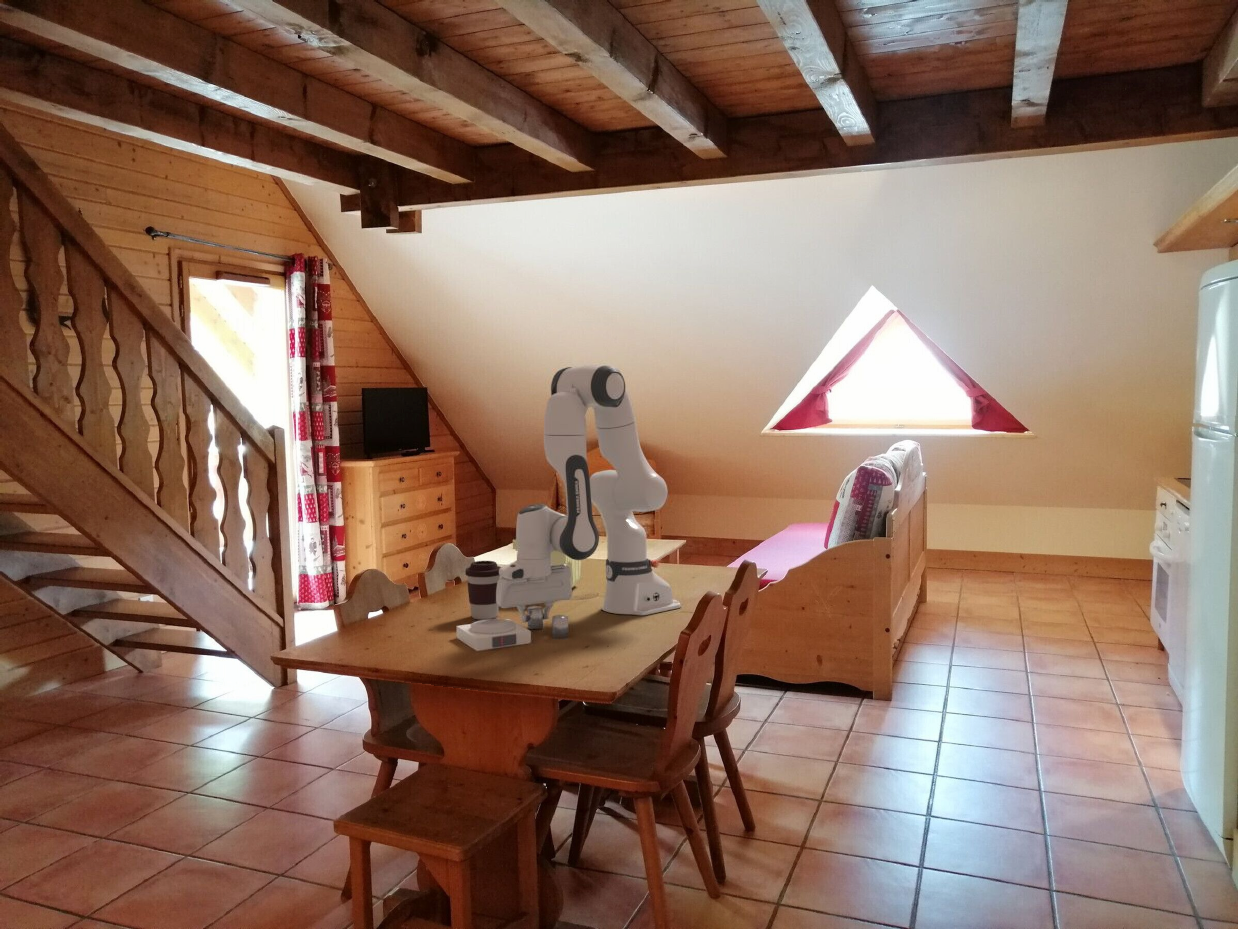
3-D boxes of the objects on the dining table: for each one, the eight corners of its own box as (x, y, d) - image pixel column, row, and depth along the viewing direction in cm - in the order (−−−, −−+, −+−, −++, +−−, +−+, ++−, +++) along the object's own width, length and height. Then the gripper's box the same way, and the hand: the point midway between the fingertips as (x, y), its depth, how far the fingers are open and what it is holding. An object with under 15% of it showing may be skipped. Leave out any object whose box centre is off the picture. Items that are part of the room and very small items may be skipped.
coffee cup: (468, 622, 252) (467, 567, 251) (464, 614, 262) (463, 560, 261) (505, 619, 255) (504, 564, 254) (500, 611, 264) (499, 558, 263)
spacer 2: (564, 633, 240) (563, 614, 240) (571, 637, 237) (570, 617, 236) (549, 635, 238) (549, 616, 238) (556, 639, 235) (556, 619, 234)
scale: (508, 630, 244) (508, 615, 243) (531, 643, 231) (531, 627, 231) (456, 637, 237) (456, 622, 236) (477, 651, 224) (477, 635, 224)
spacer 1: (539, 624, 248) (538, 605, 248) (545, 627, 245) (545, 608, 244) (525, 626, 246) (524, 607, 246) (531, 629, 243) (530, 610, 242)
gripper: (565, 561, 252) (566, 612, 253) (492, 570, 242) (494, 623, 243) (575, 565, 246) (576, 617, 247) (502, 574, 237) (503, 628, 238)
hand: (535, 620), depth 245 cm, fingers closed on spacer 1, 4 cm apart
